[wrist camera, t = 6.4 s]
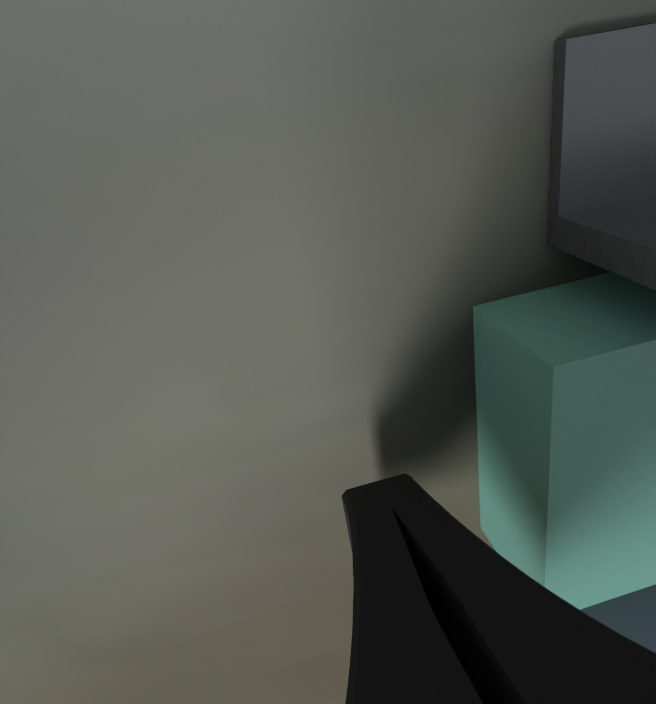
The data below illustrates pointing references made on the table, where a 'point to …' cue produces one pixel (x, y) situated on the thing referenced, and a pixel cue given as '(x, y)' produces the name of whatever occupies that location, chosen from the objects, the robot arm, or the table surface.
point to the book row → (630, 615)
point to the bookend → (606, 151)
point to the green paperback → (570, 435)
